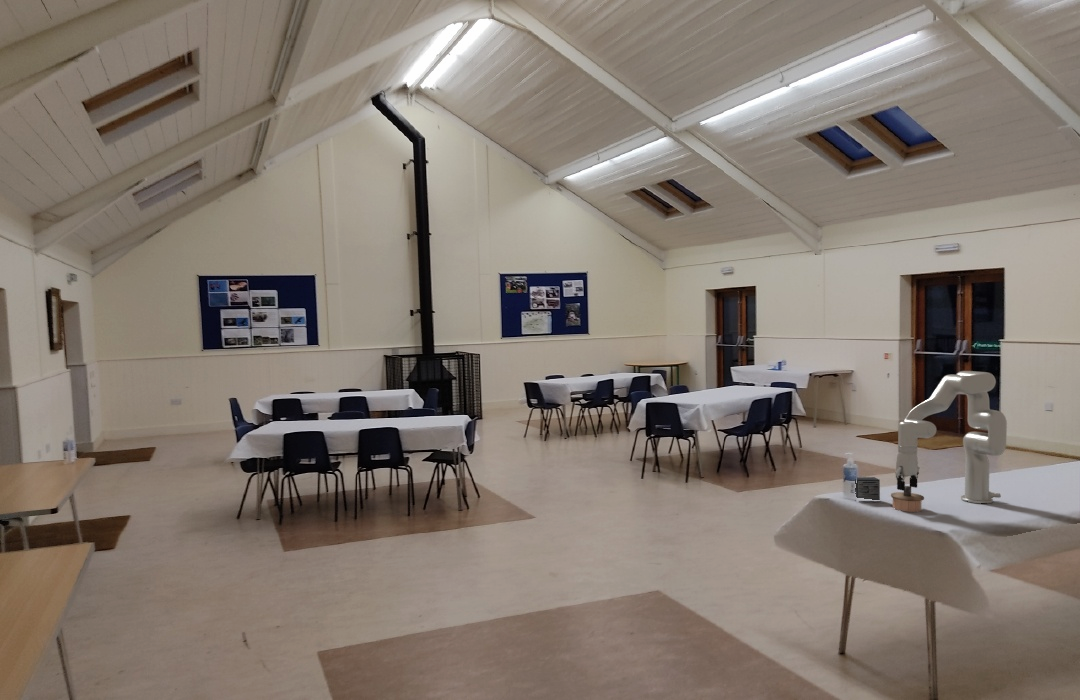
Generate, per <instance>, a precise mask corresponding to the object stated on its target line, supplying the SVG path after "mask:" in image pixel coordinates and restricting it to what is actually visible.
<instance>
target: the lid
mask: <svg viewBox="0 0 1080 700" xmlns="http://www.w3.org/2000/svg"><path fill="white" fill-rule="evenodd" d="M890 497H891V498H892V499H893V498H895V499H899V500H905V501H924V500H925V497H924V495H921V494H919V493H915V492H914V493H913V492H912V487H910V485H905V490H904V491H900V492H898V491H897V492H892V493H890Z"/></svg>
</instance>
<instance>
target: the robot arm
mask: <svg viewBox="0 0 1080 700" xmlns="http://www.w3.org/2000/svg"><path fill="white" fill-rule="evenodd" d="M995 377H996V376H994V375H993V374H992V373H991V372H986V371H975V370H974V371H973V370H961V371H958V372H957V373H956V374H946V375H944V376H943V377H942V378H941V380H940V381H939V383H938V384H937V386H936V387H935V389H934V390H933V392H932V393H931V395H930V396H929V397H928V399H926V400H924V401H922V402H921V403H919V404H917V405H916V406H915V407H913V408H911V410H910V411H909V412H908V414H907V415H906V417H905V418H904V420H903V421H900V422H898V427H897V428H898V429H897V430H898V433H897V434H898V435H897V436H898V437H897V438H898V440H897V441H898V442H897V443H898V444H897V446H898V447H897V450H898V451H897V452H898V453H897V455H896V460H895V461H896V462H895V463H896V464H895V471H894V474H895V478H896V489H897V490H899V491H902V492H904V490H905V486H906V481H905V479H906V478H907V477H909V486H910V487H911V488H915V489H917V488H918V479H919V474H920V468H921V467H919V466H918V464H919V462H918V438H919V439H930V438H933V437H934V436H935V435H936V433H937V426H936V425H935V424H934V423H933V422H932V421H927V420H924V419H925V418H927V417H929V416H931V415H934V414H938V413H941V412H945V411H947V410H948V408H949V407H951V405H952V403H953V401H954V400H955V398H956V397H957V395H966V397H967V424H968V426H969V427H970V428H973V429H975V430H976V429H977V430H980V431H969V432H967V433H966V434H965V435H964V436H963V438H962V445H963V450H964V456H965V457H964V460H965V467H964V471H965V472H964V495H961V496H960V500H962V501H964V502H967V501H968V503H973V504H981V503H987V504H993V502H994V498H996V499H997V498H1001V496H1002V495H1001V493H999V492H998V493H996V492H992V491H990V459H989V457H988V456H993V457H999V456H1002V455H1003V453H1005V451H1006V446H1007V431H1008V430H1007V428H1008V426H1007V425H1008V423H1007V419H1006V416H1005V415H1004V413H1003V412H1001V411H1000V410H994V409H991V408H990V397H989V393H988V392H990V391H992V390H993V389H994V388H995V387H996V383H997V381H996V378H995ZM981 430H982V431H987V432H981Z"/></svg>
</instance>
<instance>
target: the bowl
mask: <svg viewBox="0 0 1080 700" xmlns="http://www.w3.org/2000/svg"><path fill="white" fill-rule="evenodd" d="M922 501H923V500H922ZM922 501H905V500H899V499H895V498H892V508H893V509H894V508H895V509H894V510H896V509H898V510H897V511H899V510H902V511H901V512H905V511H910V512H909V513H918V512H917V511H919V512H921V511H922V508H923V507H922V506H923V505H922Z"/></svg>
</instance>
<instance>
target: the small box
mask: <svg viewBox="0 0 1080 700" xmlns="http://www.w3.org/2000/svg"><path fill="white" fill-rule="evenodd" d="M880 480H881V479H880V478H877V477H875V476H865V477H864V476H863V477H862V476H857V483H856V479H855V484H856V488H855V492H856V493H855V494H856V497H857V498H864V499H872V500H880V501H881V492H880V490H881V488H880V486H881V485H880V484H881V483H880V482H881V481H880Z"/></svg>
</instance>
